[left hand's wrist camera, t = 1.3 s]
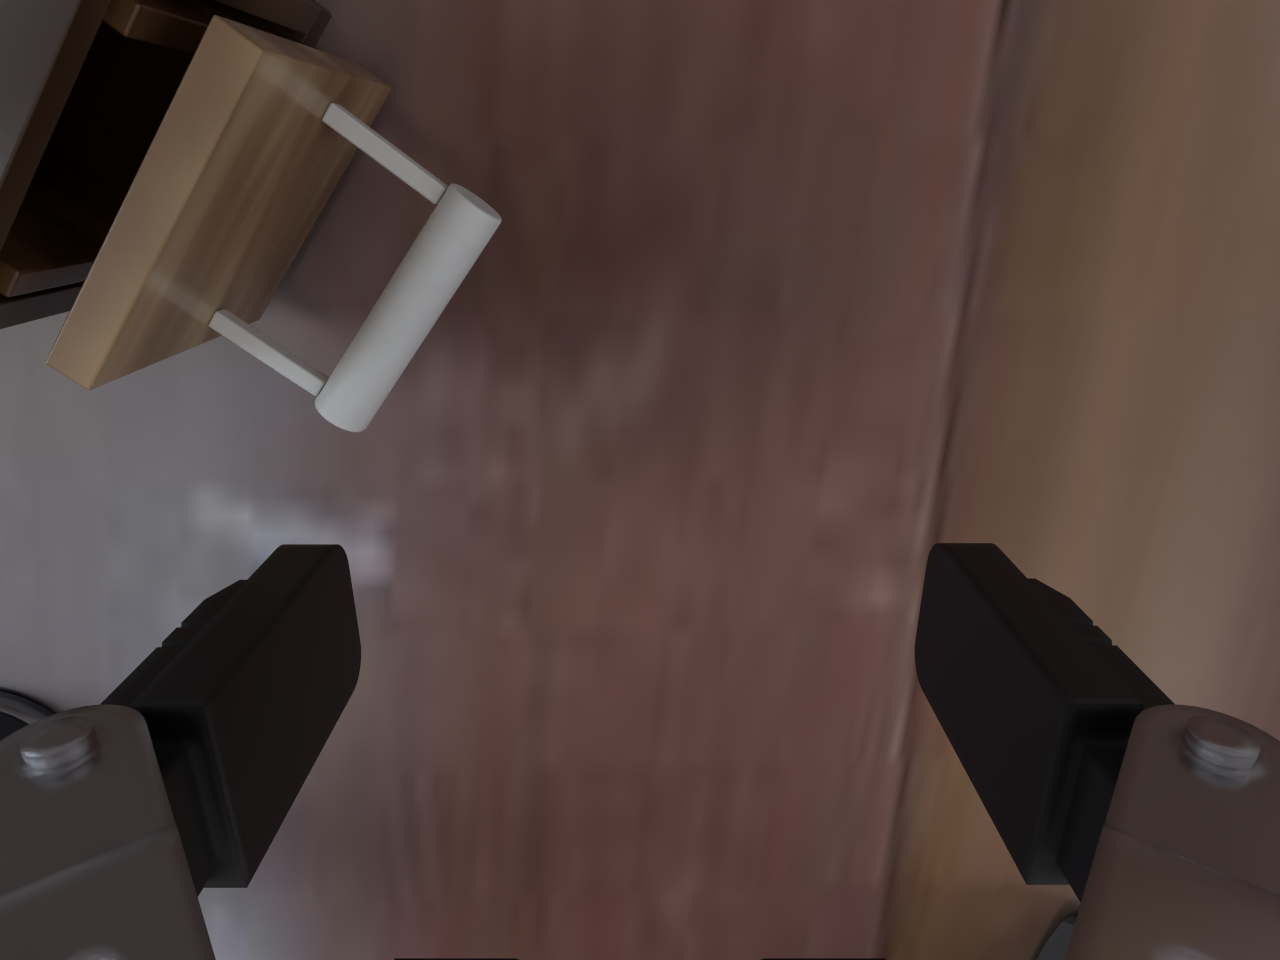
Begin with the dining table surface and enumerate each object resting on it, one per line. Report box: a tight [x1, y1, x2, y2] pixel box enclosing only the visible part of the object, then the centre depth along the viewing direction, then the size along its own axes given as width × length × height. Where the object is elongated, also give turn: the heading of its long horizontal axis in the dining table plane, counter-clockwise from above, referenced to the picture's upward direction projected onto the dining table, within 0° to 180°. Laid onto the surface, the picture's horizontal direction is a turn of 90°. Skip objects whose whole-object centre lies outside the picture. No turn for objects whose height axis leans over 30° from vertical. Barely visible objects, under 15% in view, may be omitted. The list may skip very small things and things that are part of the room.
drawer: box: [0, 0, 502, 432], centre depth 22 cm, size 21×10×10 cm, turn 53°
